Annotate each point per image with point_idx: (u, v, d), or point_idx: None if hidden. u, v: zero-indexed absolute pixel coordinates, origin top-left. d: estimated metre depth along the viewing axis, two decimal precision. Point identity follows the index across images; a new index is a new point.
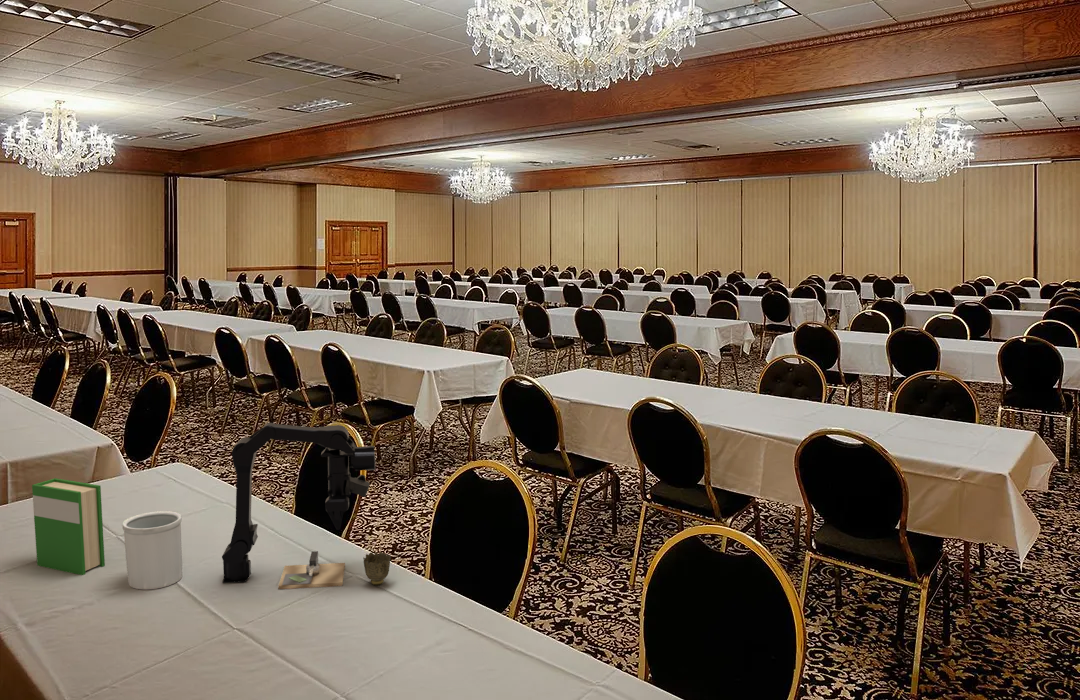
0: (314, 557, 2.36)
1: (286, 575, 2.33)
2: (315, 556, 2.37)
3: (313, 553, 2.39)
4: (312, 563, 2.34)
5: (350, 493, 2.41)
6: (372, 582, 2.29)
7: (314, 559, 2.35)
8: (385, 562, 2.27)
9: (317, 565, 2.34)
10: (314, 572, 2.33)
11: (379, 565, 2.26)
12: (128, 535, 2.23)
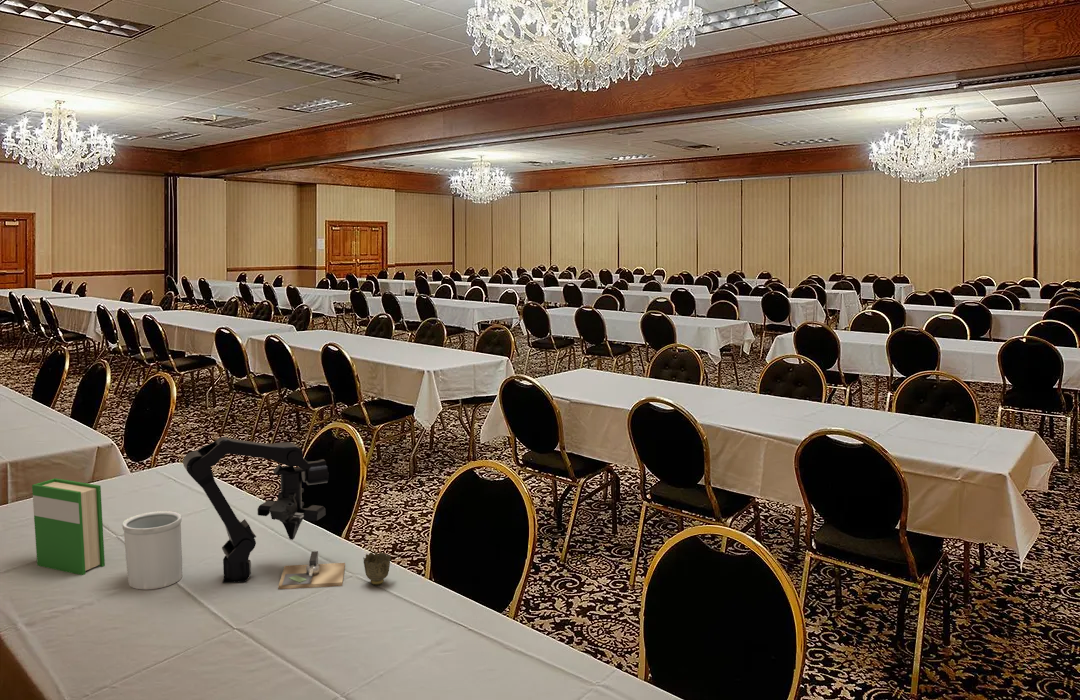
0: (314, 557, 2.36)
1: (286, 575, 2.33)
2: (315, 556, 2.37)
3: (313, 553, 2.39)
4: (312, 563, 2.34)
5: (291, 520, 2.35)
6: (372, 582, 2.29)
7: (314, 559, 2.35)
8: (385, 562, 2.27)
9: (317, 565, 2.34)
10: (314, 572, 2.33)
11: (379, 565, 2.26)
12: (128, 535, 2.23)
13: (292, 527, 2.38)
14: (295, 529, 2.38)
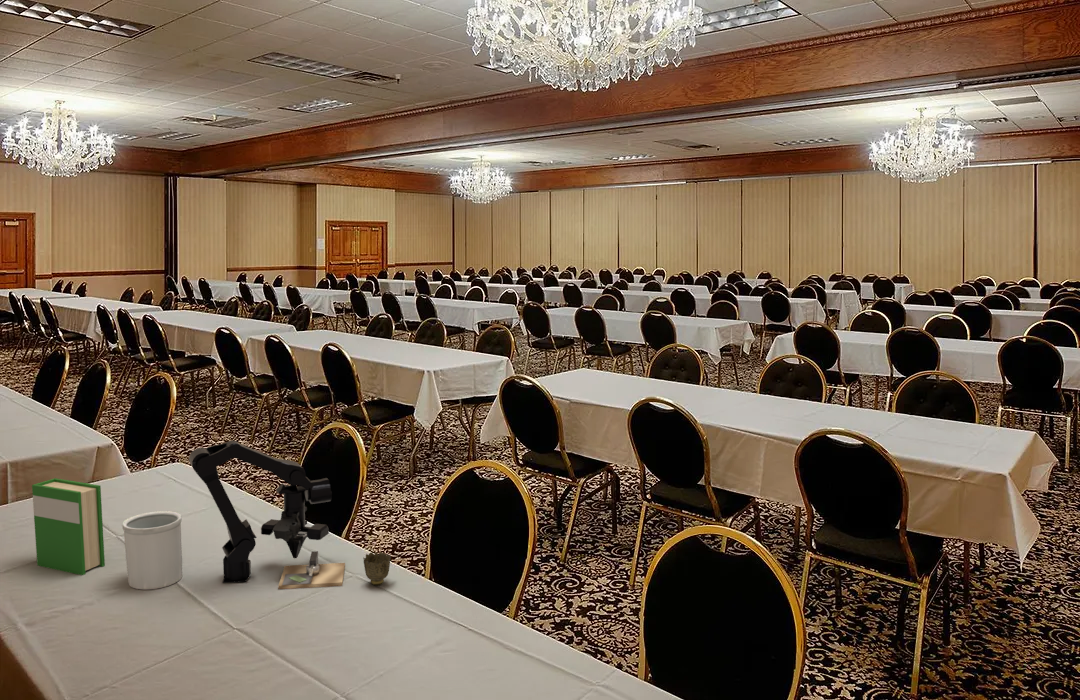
0: (314, 557, 2.36)
1: (286, 575, 2.33)
2: (315, 556, 2.37)
3: (313, 553, 2.39)
4: (312, 563, 2.34)
5: (295, 538, 2.36)
6: (372, 582, 2.29)
7: (314, 559, 2.35)
8: (385, 562, 2.27)
9: (317, 565, 2.34)
10: (314, 572, 2.33)
11: (379, 565, 2.26)
12: (128, 535, 2.23)
13: (295, 546, 2.38)
14: (298, 548, 2.39)
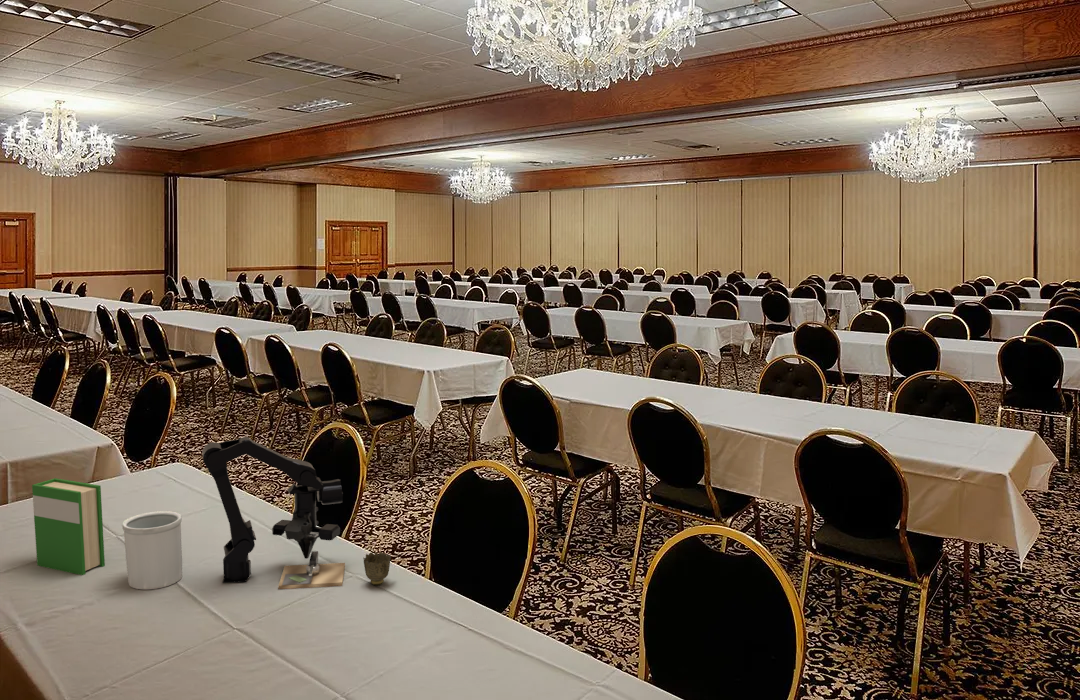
0: (314, 557, 2.36)
1: (286, 575, 2.33)
2: (315, 556, 2.37)
3: (313, 553, 2.39)
4: (312, 563, 2.34)
5: (306, 539, 2.36)
6: (372, 582, 2.29)
7: (314, 559, 2.35)
8: (385, 562, 2.27)
9: (317, 565, 2.34)
10: (314, 572, 2.33)
11: (379, 565, 2.26)
12: (128, 535, 2.23)
13: (307, 546, 2.38)
14: (310, 548, 2.39)
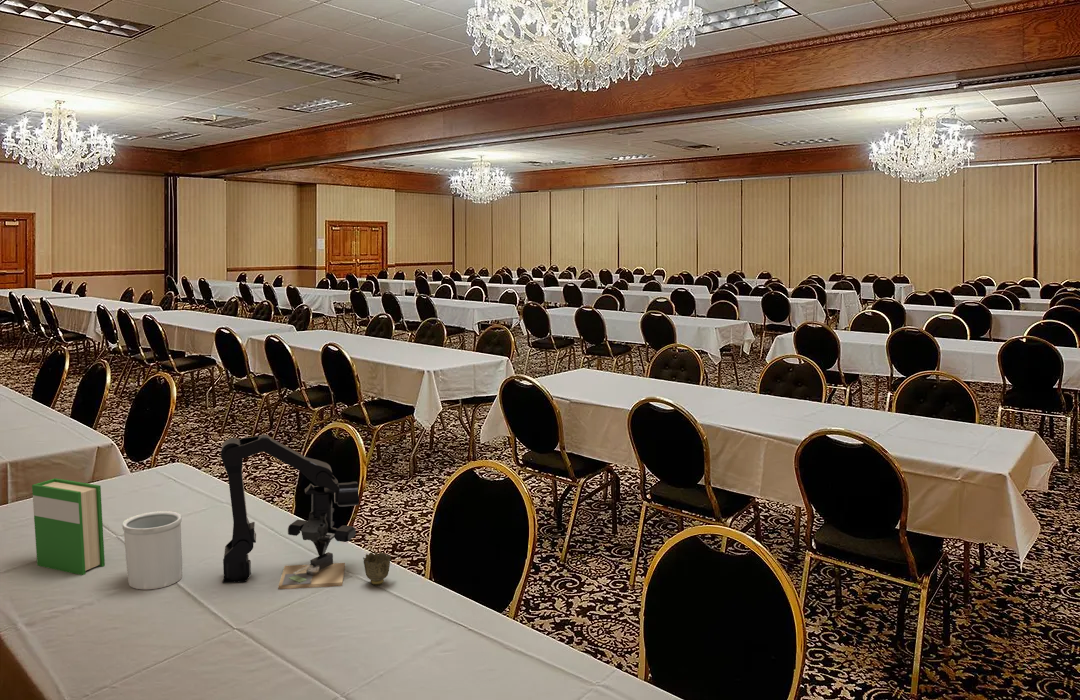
0: (319, 557, 2.36)
1: (286, 575, 2.33)
2: (321, 557, 2.36)
3: (325, 554, 2.38)
4: (312, 563, 2.34)
5: (321, 540, 2.36)
6: (372, 582, 2.29)
7: (315, 560, 2.34)
8: (385, 562, 2.27)
9: (316, 566, 2.33)
10: (310, 572, 2.32)
11: (379, 565, 2.26)
12: (128, 535, 2.23)
13: (321, 547, 2.38)
14: (324, 549, 2.39)
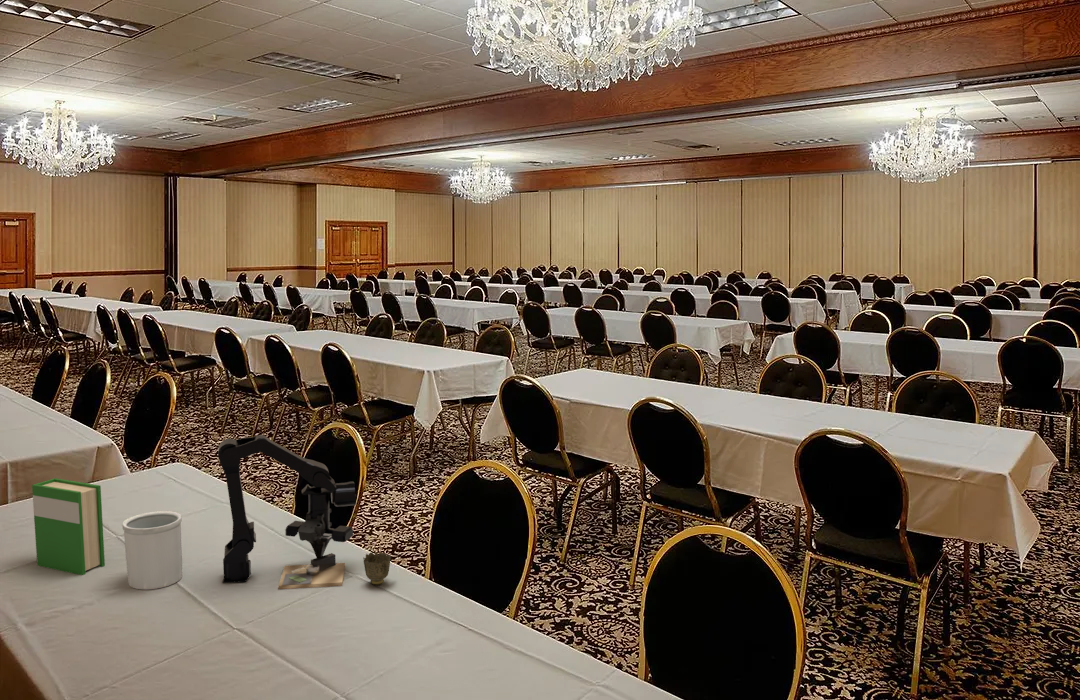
0: (320, 558, 2.35)
1: (286, 575, 2.33)
2: (322, 558, 2.36)
3: (328, 555, 2.38)
4: (312, 563, 2.34)
5: (319, 540, 2.36)
6: (372, 582, 2.29)
7: (316, 560, 2.34)
8: (385, 562, 2.27)
9: (316, 567, 2.33)
10: (308, 572, 2.32)
11: (379, 565, 2.26)
12: (128, 535, 2.23)
13: (320, 548, 2.38)
14: (323, 549, 2.39)
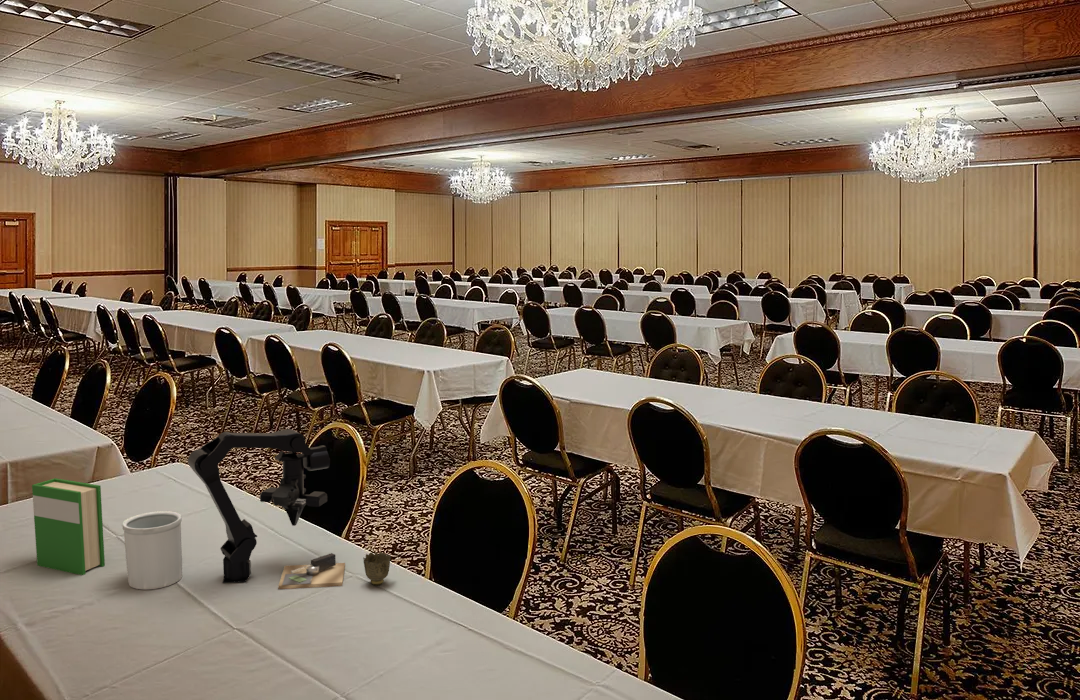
0: (320, 558, 2.35)
1: (286, 575, 2.33)
2: (322, 558, 2.36)
3: (328, 555, 2.38)
4: (312, 563, 2.34)
5: (294, 506, 2.37)
6: (372, 582, 2.29)
7: (316, 560, 2.34)
8: (385, 562, 2.27)
9: (316, 567, 2.33)
10: (308, 572, 2.32)
11: (379, 565, 2.26)
12: (128, 535, 2.23)
13: (294, 513, 2.39)
14: (297, 515, 2.40)
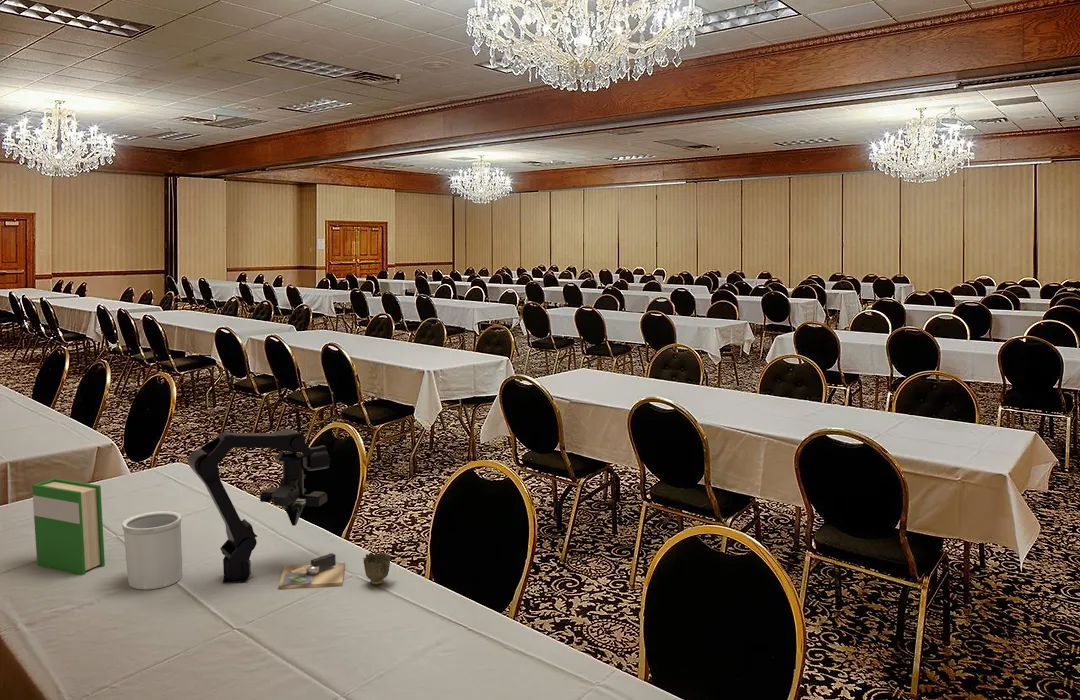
0: (320, 558, 2.35)
1: (286, 575, 2.33)
2: (322, 558, 2.36)
3: (328, 555, 2.38)
4: (312, 563, 2.34)
5: (294, 505, 2.37)
6: (372, 582, 2.29)
7: (316, 560, 2.34)
8: (385, 562, 2.27)
9: (316, 567, 2.33)
10: (308, 572, 2.32)
11: (379, 565, 2.26)
12: (128, 535, 2.23)
13: (294, 513, 2.39)
14: (297, 515, 2.40)
